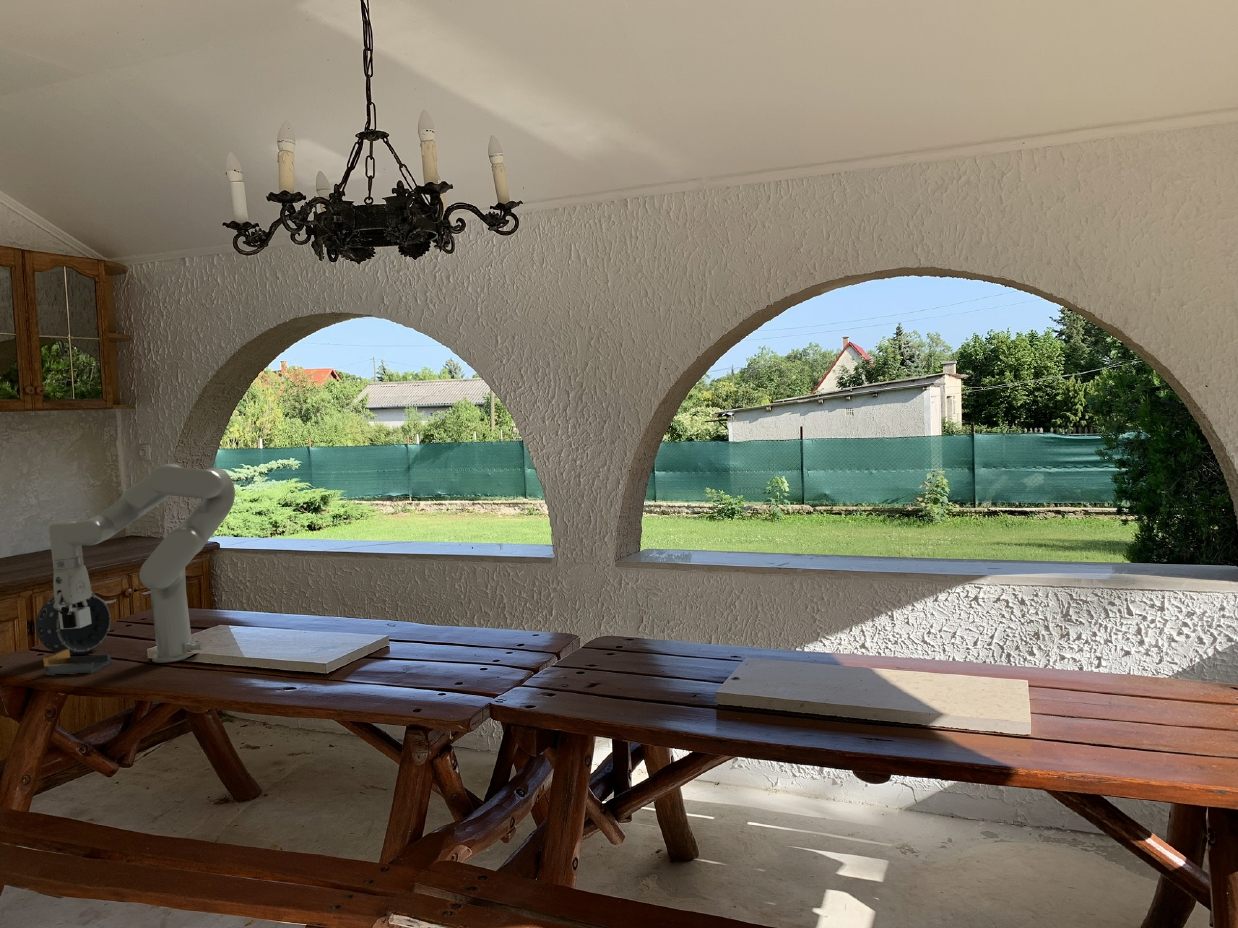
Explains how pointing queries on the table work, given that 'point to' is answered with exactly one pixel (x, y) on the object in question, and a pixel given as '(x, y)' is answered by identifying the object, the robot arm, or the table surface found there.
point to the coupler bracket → (74, 663)
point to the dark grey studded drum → (76, 637)
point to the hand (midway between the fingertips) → (76, 624)
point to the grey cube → (79, 617)
